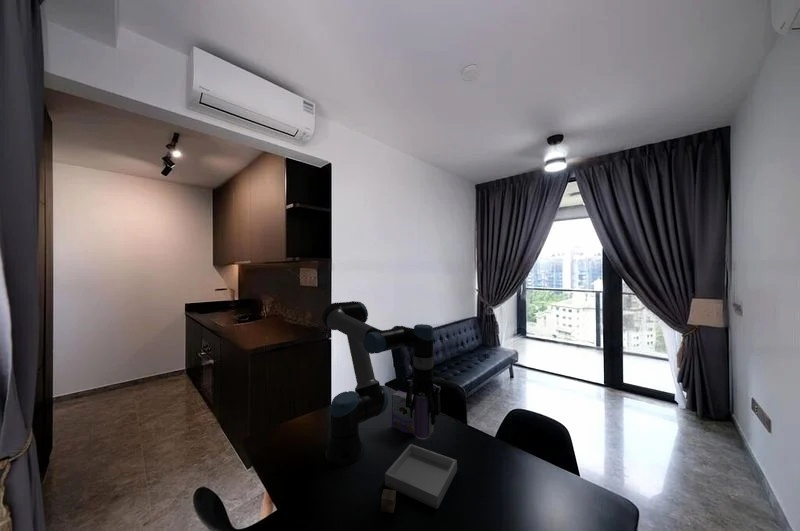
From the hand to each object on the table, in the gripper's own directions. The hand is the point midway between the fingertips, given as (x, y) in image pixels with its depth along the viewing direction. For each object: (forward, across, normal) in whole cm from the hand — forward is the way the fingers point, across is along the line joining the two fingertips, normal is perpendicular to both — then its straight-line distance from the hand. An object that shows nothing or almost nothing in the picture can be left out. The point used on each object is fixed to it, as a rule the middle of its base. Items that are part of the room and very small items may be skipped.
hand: (422, 429), depth 101 cm
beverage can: (+2, 0, 0) cm, 2 cm away
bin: (+17, 0, 0) cm, 17 cm away
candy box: (+18, -20, +25) cm, 37 cm away
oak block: (+17, -4, -17) cm, 25 cm away
